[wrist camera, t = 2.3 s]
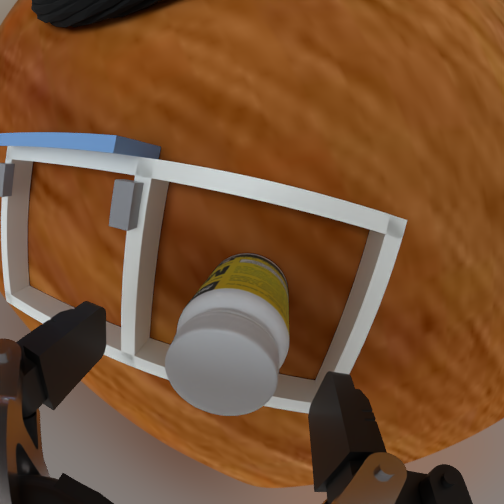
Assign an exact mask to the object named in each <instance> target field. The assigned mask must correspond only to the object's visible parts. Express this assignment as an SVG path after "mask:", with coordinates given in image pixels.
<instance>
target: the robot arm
mask: <svg viewBox="0 0 504 504" xmlns="http://www.w3.org/2000/svg"><path fill="white" fill-rule="evenodd" d="M105 349H106V311H105V309H104V308H103V307H100V306H98V305H95V304H93V303H90V302H88V301H85V302H83V303H82V304H80V305H79V306H77V307H76V308H74V309H69V310H65V311H62V312H59V313H58V314H56V315H55V316H53V317H52V318H51V319H50V320H47V321H46V322H44V323H43V325H40V326H39V327H37V328H36V329H34V330H33V331H32V332H30V333H29V334H27V335H26V336H25V337H23V338H22V339H20V340H19V341H18V342H15V341H12V340H9V339H0V504H114V503H112V502H111V501H109V500H108V499H107V498H105V497H104V496H103V495H101V494H100V493H99V492H97V491H94V490H93V489H91V488H89V487H87V486H85V485H83V484H81V483H80V482H78V481H76V480H74V479H72V478H71V477H69V476H68V475H66V474H64V473H63V474H62V475H61V477H60V478H59V480H58V479H55V478H51V477H50V476H49V472H48V469H47V466H46V464H45V461H44V457H43V450H42V440H41V424H40V411H39V407H40V406H41V405H42V404H45V405H46V406H48V407H49V408H51V409H52V410H55V408H56V407H57V406H58V405H59V404H60V403H61V402H62V401H63V399H64V398H65V397H66V396H67V395H68V394H69V393H70V392H71V390H72V389H73V388H74V387H75V386H76V385H77V384H78V383H79V382H80V381H81V379H82V378H83V377H84V376H85V375H86V374H87V373H88V372H89V371H90V370H91V369H92V367H93V366H94V365H95V364H96V363H97V362H98V361H99V360H100V359H101V358H102V356H103V354H104V352H105ZM308 418H309V429H310V440H311V452H312V465H313V478H314V491H315V492H327V499H326V500H325V501H324V502H323V503H322V504H473V503H472V501H471V498H470V495H469V492H468V490H467V487H466V485H465V482H464V479H463V477H462V475H461V473H460V472H459V471H458V470H457V469H456V468H454V467H452V466H450V465H446V464H442V465H438V466H436V467H435V468H434V469H433V470H432V471H431V472H429V473H428V474H423V473H417V472H411V471H407V470H406V467H405V465H404V464H403V462H402V461H401V460H400V459H399V458H397V457H396V456H394V455H392V454H389V453H387V452H386V449H385V446H384V443H383V440H382V437H381V434H380V431H379V428H378V425H377V422H376V421H375V416H374V413H373V412H372V408H371V405H370V402H369V399H368V398H367V397H366V396H365V395H364V394H363V392H362V391H361V390H359V389H355V387H354V384H353V381H352V378H351V376H350V375H349V374H344V373H338V372H332V371H328V372H327V373H326V375H325V377H324V379H323V381H322V383H321V385H320V387H319V389H318V391H317V393H316V395H315V397H314V399H313V401H312V403H311V405H310V409H309V416H308Z"/></svg>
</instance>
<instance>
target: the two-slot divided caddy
mask: <svg viewBox="0 0 504 504" xmlns="http://www.w3.org/2000/svg"><path fill="white" fill-rule="evenodd" d="M0 146H8V148H7V154H6V161H5V163H0V197H2V207H1V248H2V265H3V276H4V286H5V294H6V301H7V302H9V303H10V304H12V305H13V306H15V307H16V308H18V309H20V310H21V311H23V312H24V313H26V314H28V315H29V316H31V317H32V318H34V319H36V320H38V321H39V322H41V323H44V322H46V321H47V320H50V319H51V318H52V317H53V316H55V315H56V314H58V313H59V312H62V311H65V310H69V309H74V307H72V306H70V305H68V304H66V303H63V302H61V301H59V300H57V299H55V298H53V297H51V296H49V295H47V294H45V293H43V292H41V291H39V290H37V289H35V288H33V287H31V286H30V285H29V272H28V207H29V193H30V183H31V174H32V167H33V161H35V162H44V163H52V164H61V165H69V166H76V167H84V168H91V169H98V170H104V171H111V172H117V173H124V174H130V175H135V179H134V181H131V180H125V179H119V180H115V183H114V190H113V196H112V204H111V212H110V220H109V226H111V227H115V228H119V229H123V230H126V231H127V235H126V245H125V255H124V268H123V283H122V306H121V327H119V326H117V325H114V324H112V323H109V322H107V321H106V349H105V352H104V355H106V356H108V357H110V358H113V359H115V360H117V361H120V362H122V363H125V364H127V365H130V366H132V367H135V368H137V369H140V370H142V371H145V372H148V373H150V374H153V375H156V376H159V377H161V378H164V379H167V380H169V379H168V377H167V374H166V370H165V357H166V353H167V351H168V348H169V347H170V345H169V344H166V343H163V342H160V341H157V340H154V339H152V338H150V324H151V311H152V299H153V289H154V279H155V270H156V262H157V254H158V246H159V239H160V232H161V226H162V219H163V213H164V207H165V202H166V196H167V190H168V185H169V182H175V183H180V184H185V185H190V186H195V187H200V188H205V189H210V190H214V191H219V192H224V193H228V194H233V195H238V196H242V197H246V198H251V199H255V200H259V201H264V202H268V203H272V204H276V205H280V206H284V207H288V208H292V209H296V210H300V211H304V212H308V213H312V214H316V215H320V216H323V217H327V218H331V219H334V220H338V221H342V222H345V223H349V224H352V225H356V226H359V227H363V228H366V229H370V231H369V235H368V238H367V242H366V245H365V248H364V252H363V255H362V258H361V261H360V265H359V268H358V271H357V274H356V277H355V280H354V283H353V286H352V289H351V292H350V295H349V297H348V300H347V303H346V306H345V309H344V311H343V314H342V317H341V319H340V322H339V325H338V327H337V330H336V332H335V335H334V337H333V340H332V342H331V345H330V347H329V350H328V352H327V354H326V357H325V359H324V361H323V364H322V366H321V368H320V371H319V373H318V375H317V377H316V380H310V379H304V378H299V377H293V376H288V375H283V374H279V375H278V383H277V388H276V391H275V393H274V395H273V396H272V397H271V399H270V400H269V401H268V402H267V403H266V404H265V405H264V406H268V407H273V408H278V409H284V410H289V411H296V412H302V413H309V409H310V405H311V403H312V401H313V399H314V397H315V395H316V393H317V391H318V389H319V387H320V385H321V383H322V381H323V379H324V377H325V375H326V373H327V372H328V371H332V372H338V373H344V374H350V372H351V370H352V367H353V365H354V363H355V361H356V359H357V357H358V355H359V353H360V351H361V348H362V346H363V344H364V342H365V339H366V337H367V335H368V332H369V330H370V328H371V325H372V323H373V321H374V318H375V316H376V313H377V311H378V308H379V305H380V303H381V300H382V298H383V295H384V292H385V289H386V287H387V284H388V281H389V278H390V275H391V272H392V269H393V266H394V263H395V260H396V257H397V254H398V251H399V247H400V244H401V241H402V237H403V234H404V230H405V227H406V223H407V220H405V219H402V218H399V217H396V216H393V215H390V214H387V213H384V212H381V211H377V210H374V209H371V208H368V207H365V206H361V205H358V204H355V203H351V202H348V201H344V200H341V199H337V198H334V197H330V196H327V195H323V194H319V193H316V192H312V191H308V190H304V189H300V188H296V187H292V186H288V185H284V184H280V183H276V182H272V181H267V180H263V179H259V178H254V177H250V176H245V175H240V174H235V173H231V172H226V171H221V170H216V169H210V168H205V167H200V166H194V165H189V164H183V163H177V162H171V161H165V160H158V159H159V154H160V149H161V147H159V146H156V145H152V144H148V143H145V142H141V141H137V140H133V139H129V138H125V137H121V136H117V135H103V134H86V133H56V132H30V133H2V134H0Z"/></svg>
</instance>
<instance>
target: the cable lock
mask: <svg viewBox="0 0 504 504" xmlns="http://www.w3.org/2000/svg"><path fill="white" fill-rule="evenodd" d="M158 1H161V0H32V10H33V11H34V12H35V13H36V14H37V18H38V19H39V20H41V21H43V22H45V23H48V22H50V23H51V24H52V25H54V26H56V27H68V26H72V27H77V26H82V25H87V24H92V23H95V22H99V21H102V20H105V19H109V18H116V17H123V16H126V15H128V14H131V13H133V12H136V11H139V10H141V9H144V8H147V7H149V6H150V5H152V4H154V3H156V2H158Z"/></svg>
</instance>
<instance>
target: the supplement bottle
mask: <svg viewBox="0 0 504 504" xmlns="http://www.w3.org/2000/svg"><path fill="white" fill-rule="evenodd" d="M288 349H289V294H288V285H287V281H286V278H285V276H284V274H283V273H282V271H281V270H280V268H279V267H278V266H277V265H276V264H275V263H273V262H272V261H271V260H269V259H267V258H265V257H263V256H260V255H257V254H250V253H244V254H237V255H234V256H231V257H229V258H227V259H226V260H224V261H223V262H221V263H220V264H219V265H218V266H217V267H216V268H215V270H214V271H213V272H212V274H211V275H210V276H209V277H208V279H207V280H206V281H205V283H204V284H203V285H202V286H201V288H200V289H199V290H198V292H197V293H196V294H195V295H194V297H193V298H192V299H191V300H190V301H189V303H188V304H187V305H186V307H185V308H184V310H183V312H182V314H181V316H180V318H179V322H178V326H177V333H176V335H175V337H174V340H173V341H172V343H171V345H170V347H169V348H168V351H167V353H166V357H165V370H166V374H167V377H168V379H169V381H170V383H171V385H172V387H173V388H174V389H175V391H176V392H177V393H178V394H179V395H180V396H181V397H182V398H183V399H184V400H186V401H187V402H188V403H190V404H191V405H193V406H195V407H196V408H199V409H201V410H203V411H206V412H209V413H213V414H217V415H224V416H237V415H243V414H248V413H251V412H253V411H255V410H258V409H259V408H261V407H262V406H264V405H265V404H266V403H267V402H268V401H269V400H270V399H271V397H272V396H273V395H274V393H275V391H276V388H277V383H278V375H279V369H280V367H281V366H282V364H283V362H284V360H285V358H286V356H287V353H288Z"/></svg>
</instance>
